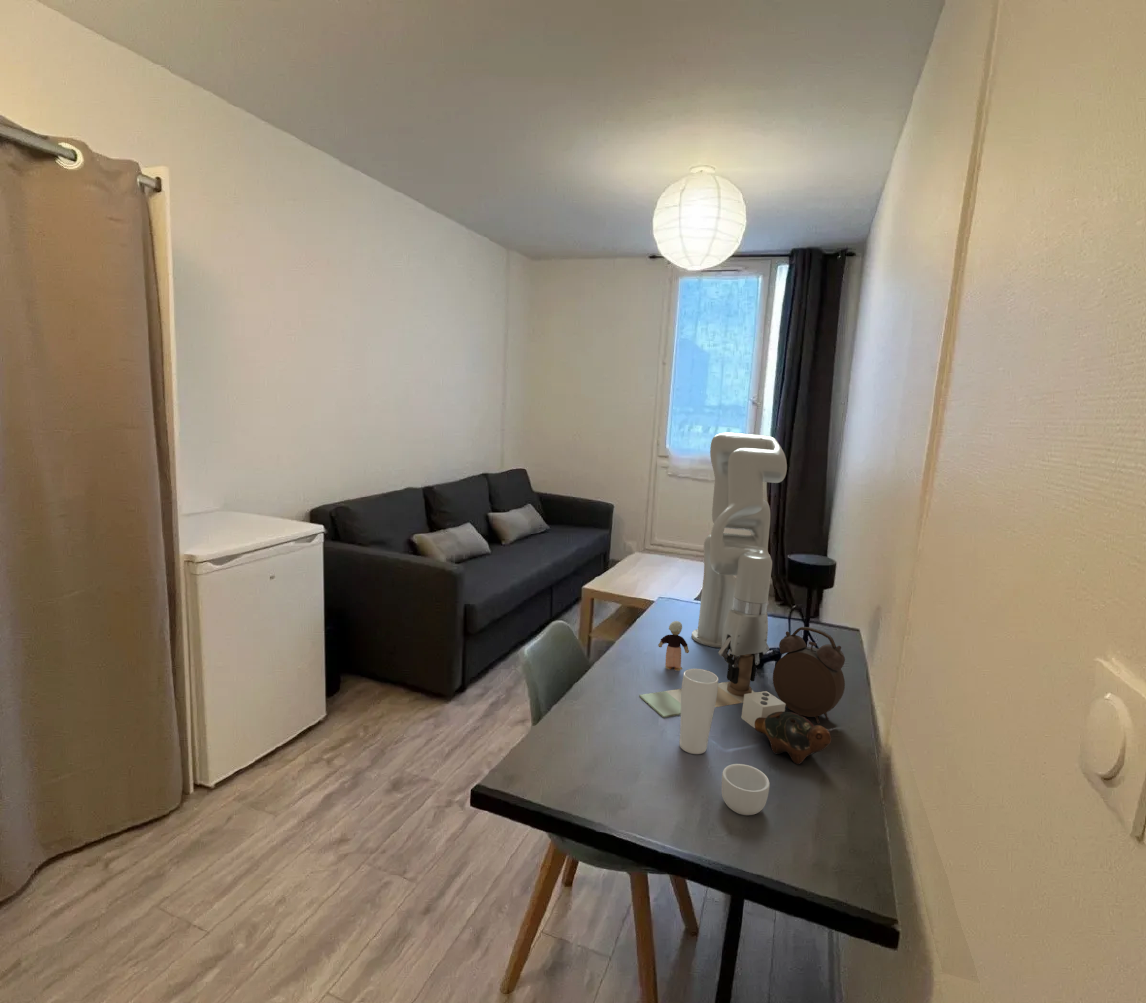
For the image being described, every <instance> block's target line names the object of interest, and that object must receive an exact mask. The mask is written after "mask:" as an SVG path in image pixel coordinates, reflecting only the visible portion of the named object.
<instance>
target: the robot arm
mask: <svg viewBox="0 0 1146 1003" xmlns="http://www.w3.org/2000/svg"><path fill="white" fill-rule="evenodd" d="M709 447H710V448H709V451H710V452H709V453H710V456H709V457H710V464H711V466H712V469H713V475H714V483H713V484H714V486H713V494H712V495H713V496H712V508H711V513H712V514H711V518H712V522H713V525H712V528H711V533H710V534H709V535H707V537H706V538H705V539H704V542H703V576H702V577H703V579H702V589H701V595H700V596H701V598H700V605H699V606H700V607H699V615H698V626H697V629H694V630H692V632H691V638H692V639H693V640H694V641H695V642H697V643H699V644H701V645H704V646H707V647H712V648H719V651H718V653H717V654H718V655H719V657H721V658H722V659H723V660H724V661H725V662H726V664H727V670H726V671H727V674H726V680H727V681H728V682H729V681H731V682H732V683H734V684H737V683H738V676H739V668H738V667H737V666H738V663H739V660H740V656H741V655H746V654H752V655H753V663H752V671H751V679H750V682H754V681H755V680H756V673H757V666H758V665H759V664H760V660H761V659H763V656H764V655H765V654H766V653H768V652H769V650H770V647H769V645H768V635H769V634H768V632H769V620H768V616H769V615H768V612H767V608H768V606H769V605H770V601H769V600H768V599H769V593H770V592H769V591H770V585H771V576H772V571H773V570H772V568H773V560H772V557H771V554H769V551H768V548H769V538H770V527H771V507H770V505H769V502H768V501H767V500H765V499H764V483H772V484H774V483H775V484H778V483H782V482H783V481H784V479H785V478H786V475H787V470H788V464H787V457H786V454H785V452H784V450H783V449H782V446H781V445H780V443H779V442H778V440H777V439H776V438H775V437H773V436H770V435H763V434H762V435H761V434H750V433H740V432H721V433H718V434H716V435H714V436H713V438H712V439H711V441H710V446H709ZM725 529H729V530H742V531H749V532H750V534H740V533H739V534H738V533H731V532H730V533H729V532H725ZM735 577H736V578H735ZM734 656H735V657H734ZM733 658H734V660H733Z"/></svg>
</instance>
